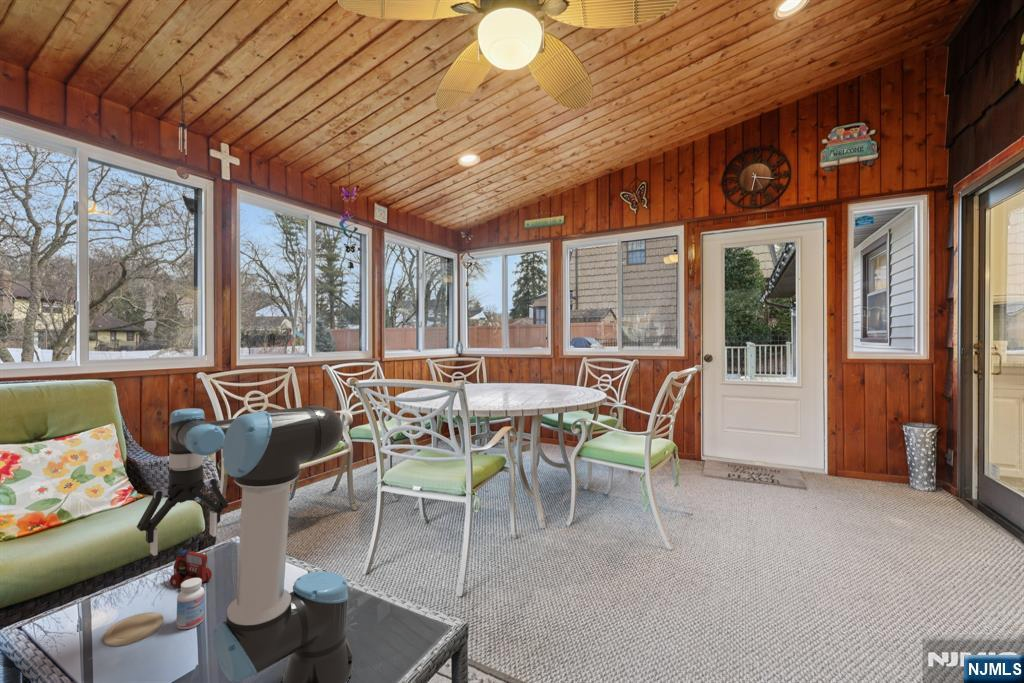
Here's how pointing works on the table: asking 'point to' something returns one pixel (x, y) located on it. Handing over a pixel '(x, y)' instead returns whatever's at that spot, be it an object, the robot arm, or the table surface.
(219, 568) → the table surface
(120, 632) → the plate
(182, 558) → the toy fire truck
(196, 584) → the pill bottle
